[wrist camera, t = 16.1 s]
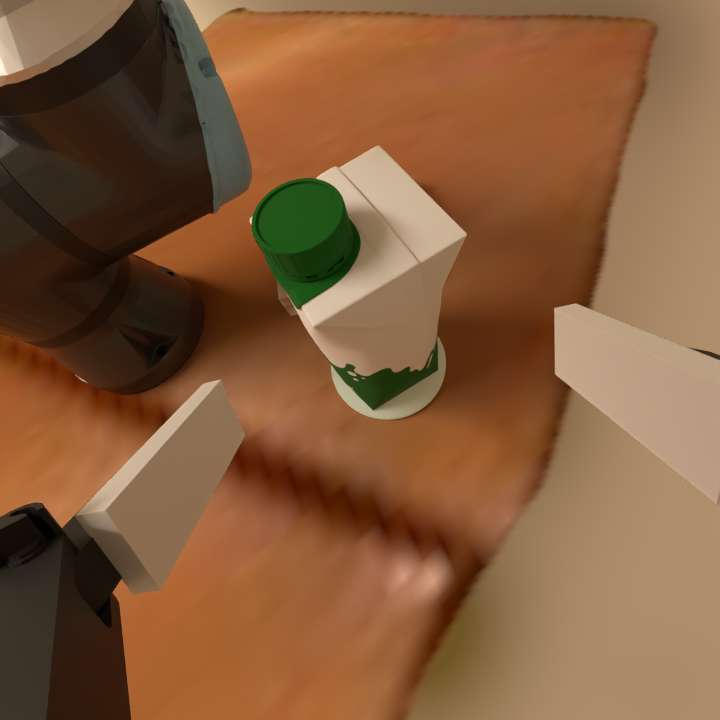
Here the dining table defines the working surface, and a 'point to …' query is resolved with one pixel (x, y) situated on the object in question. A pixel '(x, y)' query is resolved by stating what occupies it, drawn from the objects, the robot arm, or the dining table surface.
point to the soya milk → (363, 269)
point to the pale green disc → (402, 403)
